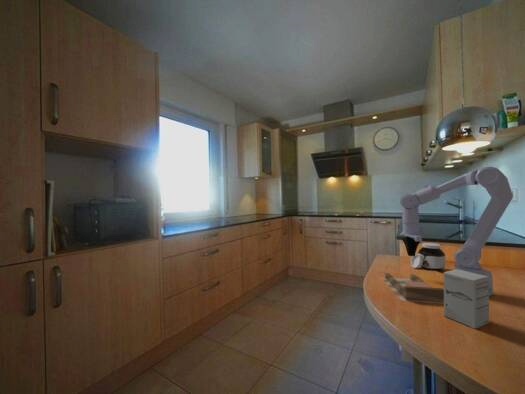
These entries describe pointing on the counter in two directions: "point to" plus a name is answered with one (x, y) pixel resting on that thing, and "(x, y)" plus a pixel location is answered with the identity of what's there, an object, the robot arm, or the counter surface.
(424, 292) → the channel
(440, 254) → the spread jar
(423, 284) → the block
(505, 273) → the counter surface
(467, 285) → the supplement box
